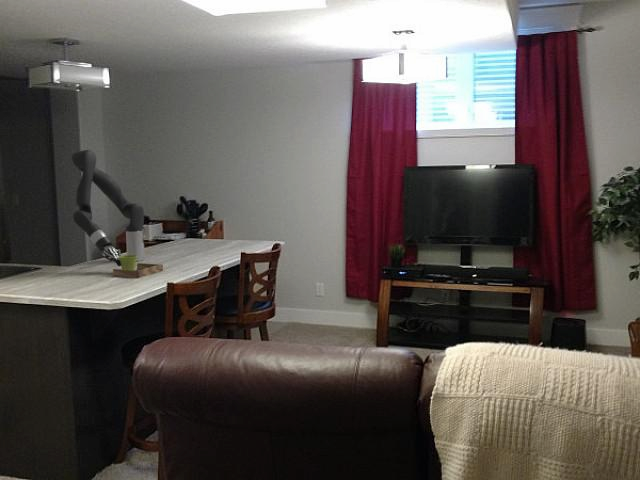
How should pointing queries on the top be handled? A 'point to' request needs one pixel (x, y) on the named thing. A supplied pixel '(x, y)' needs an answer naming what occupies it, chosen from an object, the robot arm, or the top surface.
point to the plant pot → (128, 262)
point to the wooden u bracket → (139, 270)
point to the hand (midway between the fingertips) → (121, 265)
